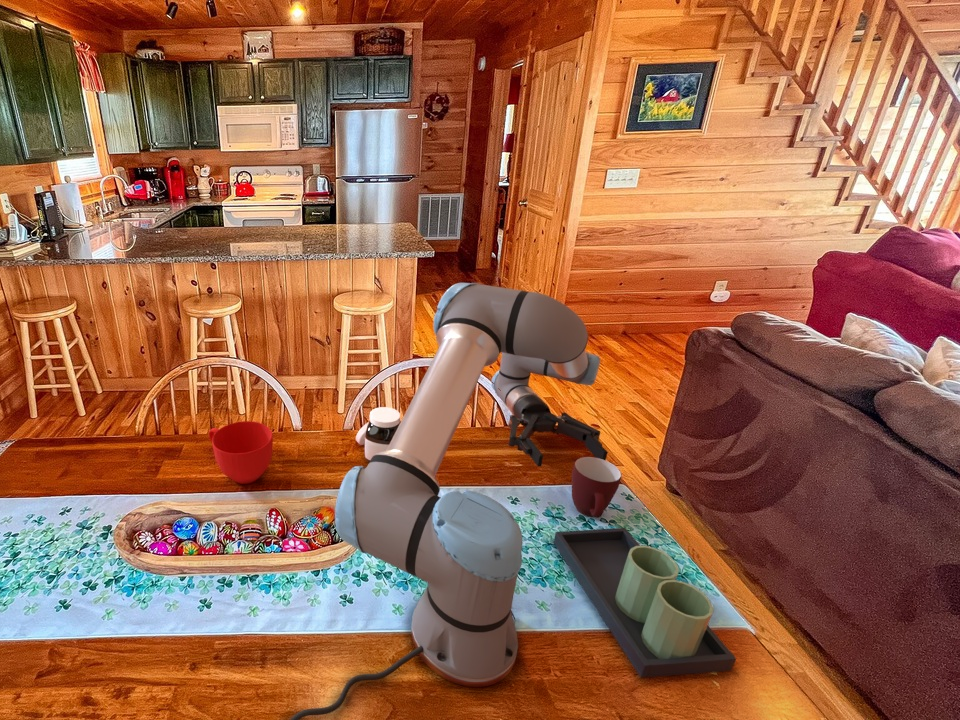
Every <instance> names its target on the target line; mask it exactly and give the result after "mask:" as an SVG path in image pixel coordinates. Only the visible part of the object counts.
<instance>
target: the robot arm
mask: <svg viewBox="0 0 960 720" xmlns="http://www.w3.org/2000/svg"><path fill="white" fill-rule="evenodd" d="M436 309H437V310H436V312H434V316H433V333H434V335H435V340H436V342H437V345H438V349H437V351H436V352H435V355H434V356H433V358H432V360H431V362H430V364H429V366H428V368H427V370H426V371H425V374H424V376H423V378H422V380H421V382H420V383H419V386H418V387H417V389H416V392H415V393H414V395H413V397H412V399H411V401H410V403H409V405H408V407H407V409H406V411H405V413H404V415H403V417H402V419H401V420H400V421H401V423H400V425H399V427H398V429H397V431H396V432H395V434H394V436H393V438H392V440H391V442H390V444H389V446H388V448H387V450H386V451H385V452H380V453H376V454H374V455H373V457H372V458H371V460H370V462H369V461H368V464H367V466H363V465H356V466H353V467H351V469H350V470H348V471H347V473H346V474H345V476H344V477H343V479H342V481H341V484H340V487H339V490H338V493H337V497H336V501H335V508H334V524H335V529H336V532H337V535H338V537H339V538H340V539H341V540H342V541H343V542H345V543H346V544H348V545H350V546H352V547H353V548H356V549H357V550H358V551H359V552H360V553H362V554H368V555H369V556H372V557H374V558H375V559H377V560H380V561H382V562H385V563H386V564H389V565H390V566H393V567H394V568H397V569H398V570H401V571H403V572H405V573H406V574H408V575H411V576H413V577H415V578H417V579H419V580H421V581H424V582H425V583H427V587H426V588H425V590H424V592H423V593H422V595H421V597H420V598H419V599H418V601H417V603H416V604H415V606H414V609H413V612H412V617H411V624H410V625H411V626H410V627H411V628H410V631H411V639H412V643H413V646H414V648H415V649H413V650H411V652H408V653H407V654H406V655H404V656H403V657H401V658H400V659H398V660H397V661H396V662H394V663H393V664H392V665H391V666H390V667H388V668H386V669H385V670H382V671H380V672H377V673H361V674H358V675H355V676H353V677H352V678H350V679H349V680H348V681H347V682H346V683H345V685H344V687H343V689H342V691H341V693H340V695H339V697H338V699H337V700H335V702H334V703H332V704H331V705H329V706H326V707H315V708H306V709H303V710H301V711H298V712H297V713H296V714H294V715H293V716H292V717H291V718H290V719H289V720H300V719H303V718H305V717H309V716H321V715H322V716H323V715H327V714H331V713H333V712H336V710H338V709H339V708H340V707H341V706H342V705H343V703H344V702H345V700H346V697H347V696H348V693H349V691H350V689H351V688H352V687H353V685H355V684H357V683H359V682H362V681H377V680H381V679H383V678H385V677H387V676H390V675H391V674H392V673H394V672H395V671H397V670H398V669H399V668H400V667H402V666H403V665H405V664H407V662H409V661H411V660H412V659H414V658H415V657H416V656H419V657H420V659H421V660H422V661H423V663H424V664H425V665H426V666H427V667H428V668H429V669H430V670H431V671H432V672H434V673H435V674H436V675H438V676H439V677H441V678H443V679H445V680H446V681H448V682H451V683H453V684H455V685H460V686H464V687H470V688H482V687H483V688H485V687H488V686H492V685H494V684H497V683H499V682H501V681H502V680H504V679H505V678H506V677H507V676H508V675H509V674H510V673H511V671H512V670H513V668H514V666H515V664H516V660H517V655H518V650H519V639H518V633H517V628H516V625H515V623H517V622H516V621H517V620H516V616H515V615H514V612H513V610H512V607H513V603H514V596H515V592H516V591H515V590H516V585H517V580H518V575H519V572H520V570H521V568H522V565H523V564H522V563H523V559H522V558H523V555H522V553H523V542H524V541H523V533H522V529H521V526H520V525H519V523H518V522H517V521H516V520H515V517H514V515H513V514H512V513H511V512H510V511H509V509H508V508H506V507H505V506H504V505H503V504H501V503H500V502H498V501H497V500H495V499H493V498H492V497H490V496H488V495H486V494H483V493H480V492H477V491H472V490H464V491H463V492H461V491H459V490H453V491H450V492H447V493H445V494H443V495H442V496H439V494H440V491H441V487H440V483H439V481H438V479H437V477H436V475H437V473H438V471H439V468H440V466H441V464H442V461H443V460H444V457H445V456H446V453H447V451H448V448H449V446H450V444H451V441H452V440H453V438H454V435H455V433H456V430H457V428H458V426H459V424H460V422H461V419H462V417H463V416H464V413H465V410H466V408H467V406H468V404H469V402H470V399H471V397H472V395H473V393H474V390H475V388H476V386H477V384H478V381H479V380H480V377H481V375H482V373H483V370H484V368H485V367H489V366H491V365H493V364H495V363H496V362H497V360H498V358H499V356H500V354H501V356H500V357H501V358H500V365H499V366H500V367H499V370H497V371H496V372H495V373H494V375H493V376H492V378H491V387H492V389H493V390H494V393H495V395H496V396H497V398H499V399H500V400H501V402H502V403H503V404H504V405H505V406H506V407H507V408H508V410H509V411H510V412H511V414H510V415H509V421H508V427H509V428H510V432H509V439H508V440H509V441H508V446H509V447H512V448H513V447H515V446H516V447H517V448H516V449H517V451H520V452H523V453H524V454H525V455H527V456H529V457H530V458H531V460H532V461H533V462H534V464H535V466H537V467H539V468H541V467H542V465H543V461H544V454H543V453H542V452H541V451H540V449H539V448H538V447H537V445H536V444H535V443H534V442H533V440H532V439H531V437H532V436H533V435H534V433H535V432H537V433H544V432H545V433H546V432H547V433H553V434H555V435H560V434H561V435H563V436H567V437H569V438H571V439H574V440H576V441H580V442H582V443H584V446H585V447H586V448H587V449H588V451H589V452H590V453H591V454H592V455H593V457H595V458H600V459H603V460H606V461H607V457H608V453H609V451H607V449H605V448H604V446H603V443H602V442H601V441H600V437H601V431H600V430H598V429H596V428H595V427H593V426H590V425H588V424H587V423H584V422H582V421H580V420H578V419H577V418H574V417H572V416H571V415H570V414H569V413H567V412H562V413H561V415H555V414H554V413H552V412H551V409H550V407H549V406H548V404H547V403H546V402H545V401H544V400H543V399H542V398H541V397H540V396H539V394H537V392H535V390H534V389H533V388H532V387H531V386H530V385H529V384H530V378H531V374H534V375H538V376H543V377H548V378H553V379H557V380H561V381H566V382H569V383H574V384H577V385H584V386H592V385H593V384H594V383H595V382H596V379H597V376H598V372H599V368H600V364H601V358H600V356H599V355H596V354H593V353H590V352H587V351H586V348H587V345H588V340H589V334H588V330H587V326H586V325H585V322H584V321H583V319H582V318H581V317H580V316H579V315H578V314H577V313H576V312H575V311H574V310H573V309H571V308H570V307H568V306H567V305H566V304H564V303H563V302H561V301H560V300H557V299H555V298H554V297H551V296H549V295H547V294H543V293H541V292H535V291H528V290H527V291H526V290H521V289H514V288H507V287H499V286H493V285H487V284H482V283H479V282H471V283H470V282H458V283H455V284H453V285H451V286H450V287H449V288H447V289H446V291H445V292H444V293H443V295H442V296H441V298H440V300H439V302H438V303H437V306H436ZM492 382H493V383H494V384H493V383H492ZM498 388H499V389H500V390H501V391H500V390H499V389H498ZM520 425H521V426H522V427H524V429H523V431H522V432H521V433H520V434H519V436H517V432H518V427H519V426H520ZM556 425H557V426H556Z"/></svg>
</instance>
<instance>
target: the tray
mask: <svg viewBox="0 0 960 720" xmlns="http://www.w3.org/2000/svg"><path fill="white" fill-rule="evenodd" d="M553 545H554V546H555V547H556V550H557V551H558V552H559V554H560V556H561V557H562V559H563V560H564V561H565V563H566V565H567V566H568V568H569V569H570V571H571V573H572V574H573V576H574V577H575V579H576V580H577V582H578V583H579V585H580V586H581V588H582V590H583V591H584V592H585V594H586V596H587V597H588V599H589V600H590V601H591V603H592V605H593V606H594V608H595V610H596V611H597V613H598V614H599V616H600V617H601V619H602V620H603V622H604V623H605V625H606V626H607V628H608V630H609V631H610V633H611V635H612V636H613V637H614V639H615V641H616V642H617V644H618V645H619V647H620V648H621V650H622V651H623V653H624V654H625V657H627V659H628V660H629V662H630V664H631V665H632V667H633V669H634V670H635V671H636V673H637V675H638V676H639V678H640V679H643V678H644V679H645V678H655V677H656V678H657V677H670V676H684V675H685V676H686V675H697V674H710V673H722V672H731V671H732V669H733V667H734V665H735V663H736V662H737V657H736V656H735V655H734V654H733V653H732V652H731V650H730V649H729V648H728V647H727V646H726V645H725V643H724V642H723V641H722V639H720V637H718V635H717V634H716V633H715V631H714V630H713V629H712V628H711V627H710V625H708V626H707V628H706V631H705V633H704V635H703V638H702V640H701V642H700V645H699V647H698V649H697V652H696V654H695V656H693V657H680V658H666V659H659V658H657V657H656V656H655V655H654V654H653V653H651V652H650V651H649V650H648V648H647V647H646V646H645V644H644V643H643V640H642V636H641V633H642V630H643V627H644V624H645V623H641V622H638V621H636V620H634V619H632V618H630V617H628V616H627V615H626V614H625V613H623V612H622V611H621V610H620V608H619V607H618V605H617V604H616V600H615V595H616V592H617V589H618V586H619V582H620V579H621V576H622V573H623V570H624V566H625V563H626V560H627V557H628V553H629V551H630V549H631V548H633V547H635V546H641V544H640V543H639V542H638V541H637V540H636V539H635V538H634V536H633V535H632V534H631V533H630V532H629V530H628V529H627V528H626V527H616V528H600V529H598V528H597V529H583V530H566V531H555V534H554V538H553Z"/></svg>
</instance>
